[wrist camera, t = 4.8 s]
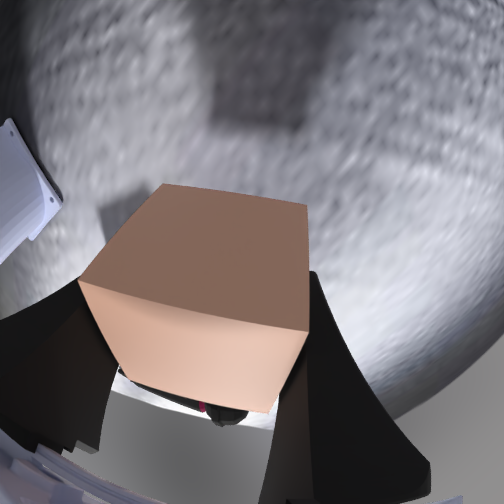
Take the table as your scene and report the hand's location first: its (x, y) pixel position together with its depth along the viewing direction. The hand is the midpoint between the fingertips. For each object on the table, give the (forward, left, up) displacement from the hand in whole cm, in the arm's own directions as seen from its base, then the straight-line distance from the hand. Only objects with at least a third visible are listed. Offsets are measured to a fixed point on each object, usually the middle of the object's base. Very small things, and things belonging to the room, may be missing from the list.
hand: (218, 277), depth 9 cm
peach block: (0, 0, -1) cm, 1 cm away
